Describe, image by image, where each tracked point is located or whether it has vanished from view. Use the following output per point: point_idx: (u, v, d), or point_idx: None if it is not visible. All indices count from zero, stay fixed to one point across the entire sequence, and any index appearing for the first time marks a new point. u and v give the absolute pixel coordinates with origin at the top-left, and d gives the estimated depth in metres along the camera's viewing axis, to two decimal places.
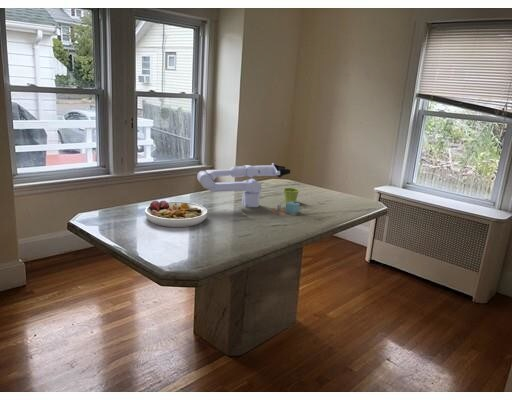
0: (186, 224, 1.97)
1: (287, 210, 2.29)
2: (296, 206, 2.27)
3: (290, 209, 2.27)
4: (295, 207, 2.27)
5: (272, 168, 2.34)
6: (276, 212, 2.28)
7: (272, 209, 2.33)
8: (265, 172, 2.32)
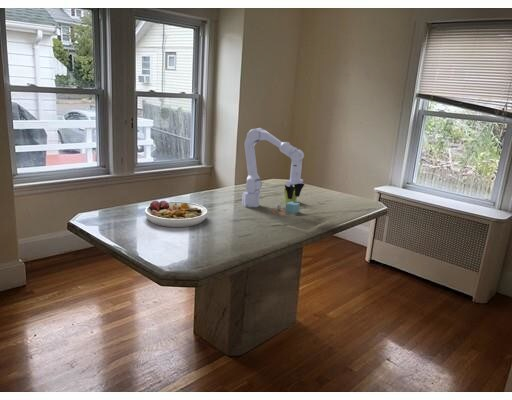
0: (186, 224, 1.97)
1: (287, 210, 2.29)
2: (296, 206, 2.27)
3: (290, 209, 2.27)
4: (295, 207, 2.27)
5: (296, 180, 2.23)
6: (276, 212, 2.28)
7: (272, 209, 2.33)
8: (293, 172, 2.22)
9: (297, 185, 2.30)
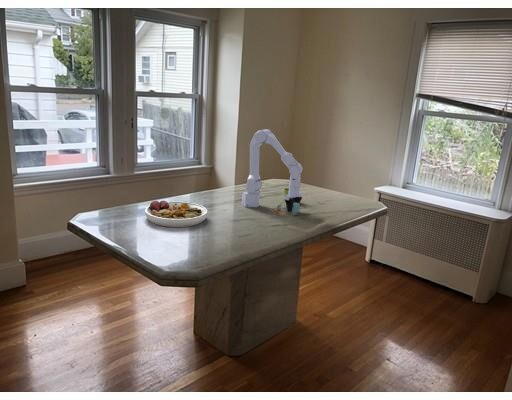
0: (186, 224, 1.97)
1: (287, 210, 2.29)
2: (296, 206, 2.27)
3: None
4: (295, 207, 2.27)
5: (294, 194, 2.25)
6: (276, 212, 2.28)
7: (272, 209, 2.33)
8: (292, 186, 2.24)
9: (295, 198, 2.31)
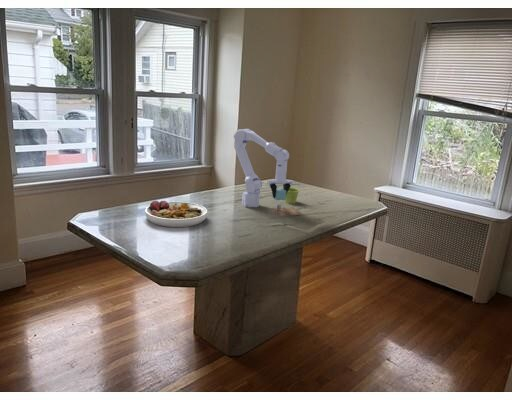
0: (186, 224, 1.97)
1: None
2: (280, 193, 2.27)
3: None
4: (278, 193, 2.26)
5: (278, 180, 2.25)
6: (276, 212, 2.28)
7: (272, 209, 2.33)
8: (278, 172, 2.24)
9: (284, 186, 2.30)
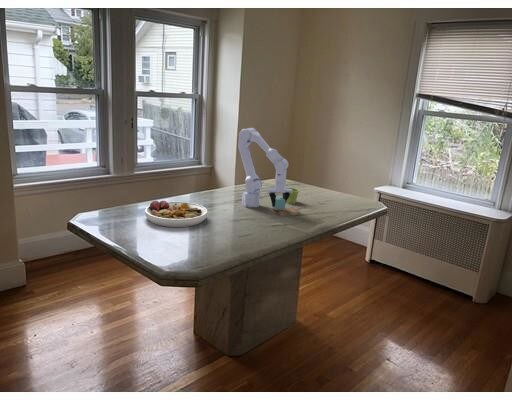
0: (186, 224, 1.97)
1: None
2: (279, 202, 2.28)
3: None
4: (278, 202, 2.28)
5: (277, 189, 2.26)
6: (276, 212, 2.28)
7: (272, 209, 2.33)
8: (277, 181, 2.25)
9: (283, 194, 2.31)
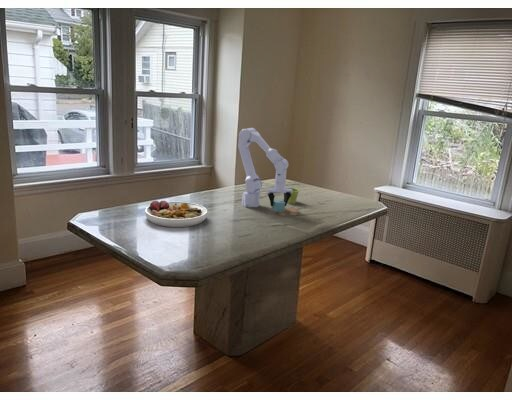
0: (186, 224, 1.97)
1: (272, 207, 2.32)
2: (279, 204, 2.28)
3: (273, 207, 2.30)
4: (277, 204, 2.28)
5: (277, 189, 2.26)
6: (276, 212, 2.28)
7: None
8: (277, 181, 2.25)
9: (285, 194, 2.31)
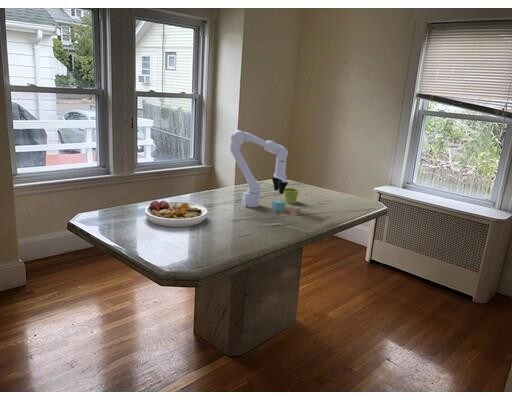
0: (186, 224, 1.97)
1: (272, 207, 2.32)
2: (279, 204, 2.28)
3: (273, 207, 2.30)
4: (277, 204, 2.28)
5: (284, 175, 2.34)
6: (276, 212, 2.28)
7: None
8: (280, 168, 2.32)
9: (276, 180, 2.40)
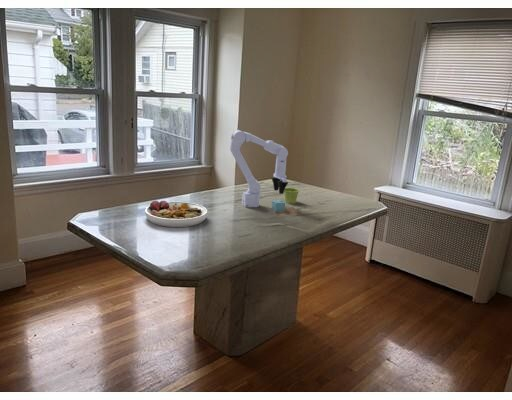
0: (186, 224, 1.97)
1: (272, 207, 2.32)
2: (279, 204, 2.28)
3: (273, 207, 2.30)
4: (277, 204, 2.28)
5: (284, 175, 2.34)
6: (276, 212, 2.28)
7: None
8: (280, 168, 2.32)
9: (276, 179, 2.40)
